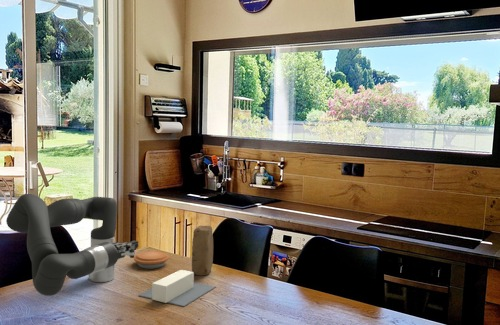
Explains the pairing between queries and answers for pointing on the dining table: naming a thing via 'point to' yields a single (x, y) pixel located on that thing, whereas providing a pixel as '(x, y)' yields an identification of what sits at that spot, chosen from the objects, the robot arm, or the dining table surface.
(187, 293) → the mat
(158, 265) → the pie
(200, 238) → the tan textured post
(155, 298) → the tall cream block
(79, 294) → the dining table surface
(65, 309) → the dining table surface
